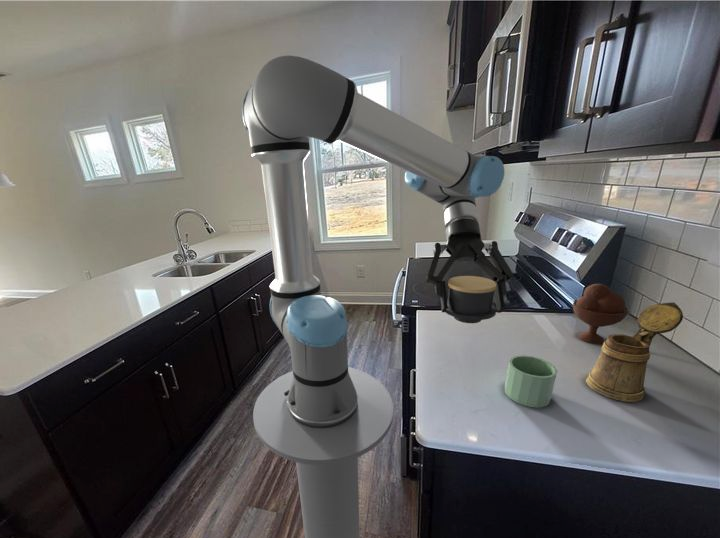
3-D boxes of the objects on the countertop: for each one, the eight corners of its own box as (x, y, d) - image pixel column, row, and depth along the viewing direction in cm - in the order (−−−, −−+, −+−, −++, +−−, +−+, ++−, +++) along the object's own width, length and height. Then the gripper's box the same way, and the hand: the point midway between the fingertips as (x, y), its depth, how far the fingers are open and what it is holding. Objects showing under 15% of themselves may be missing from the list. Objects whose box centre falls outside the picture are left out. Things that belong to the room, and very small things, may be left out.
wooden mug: (672, 392, 64) (706, 310, 57) (620, 406, 61) (649, 321, 55) (623, 368, 72) (648, 294, 65) (575, 380, 69) (596, 304, 63)
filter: (441, 326, 69) (445, 289, 66) (441, 306, 79) (444, 274, 76) (498, 331, 66) (504, 292, 62) (491, 310, 75) (496, 275, 72)
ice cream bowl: (563, 341, 84) (576, 288, 79) (567, 326, 92) (580, 277, 87) (617, 353, 78) (635, 296, 72) (616, 335, 86) (633, 283, 80)
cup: (508, 403, 64) (513, 374, 61) (501, 380, 71) (506, 353, 68) (555, 410, 61) (563, 380, 58) (543, 386, 68) (550, 358, 65)
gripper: (507, 233, 78) (523, 316, 70) (411, 237, 83) (415, 315, 74) (520, 214, 72) (539, 303, 63) (414, 218, 76) (418, 303, 67)
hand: (472, 310), depth 68 cm, fingers closed on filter, 11 cm apart
